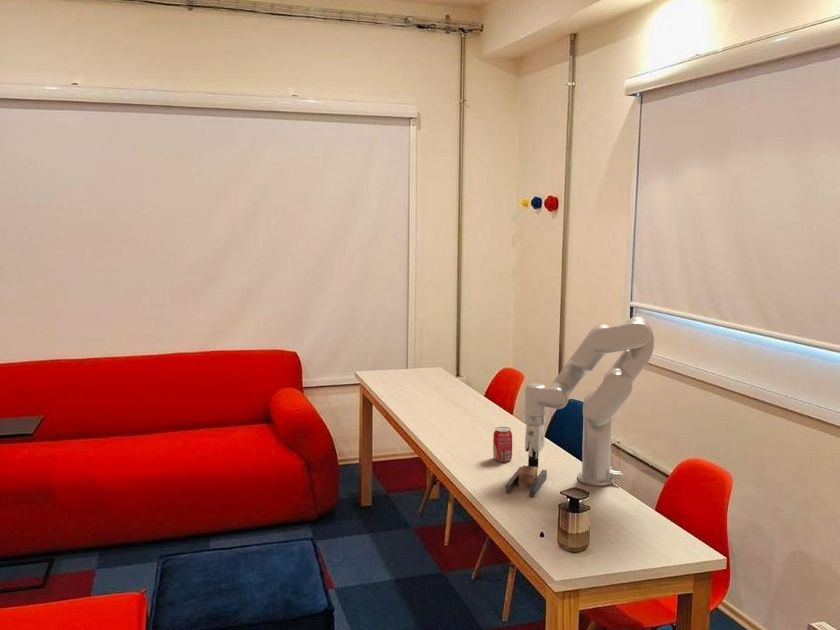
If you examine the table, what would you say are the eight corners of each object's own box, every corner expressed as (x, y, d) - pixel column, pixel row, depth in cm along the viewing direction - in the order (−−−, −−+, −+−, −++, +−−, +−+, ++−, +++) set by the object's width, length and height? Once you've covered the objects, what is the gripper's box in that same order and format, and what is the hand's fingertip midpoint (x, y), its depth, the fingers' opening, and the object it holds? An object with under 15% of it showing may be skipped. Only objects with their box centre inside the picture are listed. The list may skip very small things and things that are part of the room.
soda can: (500, 455, 287) (500, 425, 285) (515, 459, 282) (516, 428, 280) (489, 460, 281) (489, 429, 279) (505, 464, 277) (505, 433, 275)
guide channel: (546, 478, 262) (546, 470, 262) (533, 497, 246) (534, 488, 245) (519, 474, 266) (520, 466, 266) (505, 493, 250) (505, 484, 249)
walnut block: (537, 480, 261) (537, 466, 260) (533, 489, 253) (533, 474, 253) (522, 479, 262) (523, 465, 262) (518, 487, 255) (518, 473, 254)
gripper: (540, 425, 255) (538, 477, 258) (550, 414, 268) (548, 463, 271) (518, 423, 258) (517, 474, 260) (529, 412, 271) (528, 460, 274)
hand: (533, 468), depth 266 cm, fingers closed
